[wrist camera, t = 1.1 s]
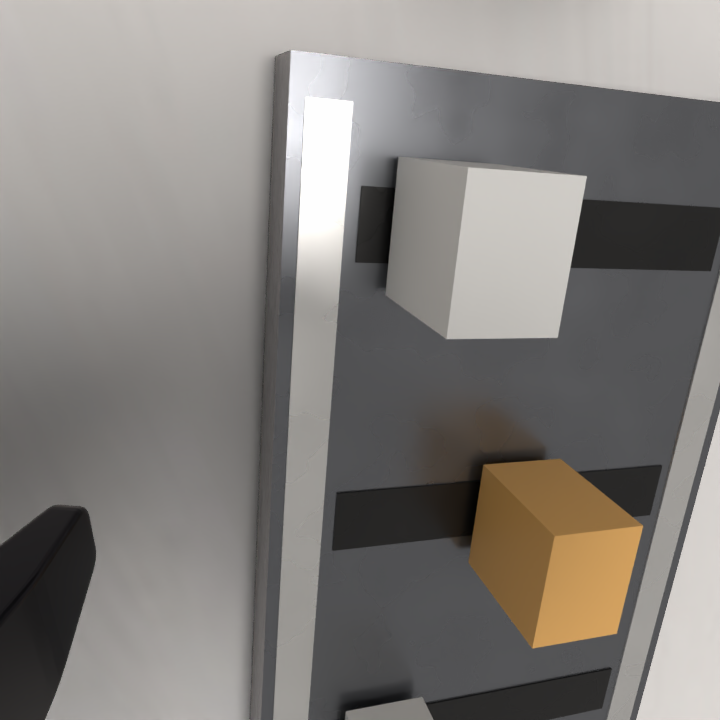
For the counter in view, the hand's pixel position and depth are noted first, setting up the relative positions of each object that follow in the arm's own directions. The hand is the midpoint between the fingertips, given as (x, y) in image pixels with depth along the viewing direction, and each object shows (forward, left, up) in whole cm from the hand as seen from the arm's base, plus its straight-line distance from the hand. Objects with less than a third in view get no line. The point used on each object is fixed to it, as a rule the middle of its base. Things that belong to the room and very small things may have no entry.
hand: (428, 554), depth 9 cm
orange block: (-6, -8, -10) cm, 14 cm away
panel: (-6, -8, -12) cm, 16 cm away
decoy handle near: (+3, -4, -10) cm, 11 cm away
